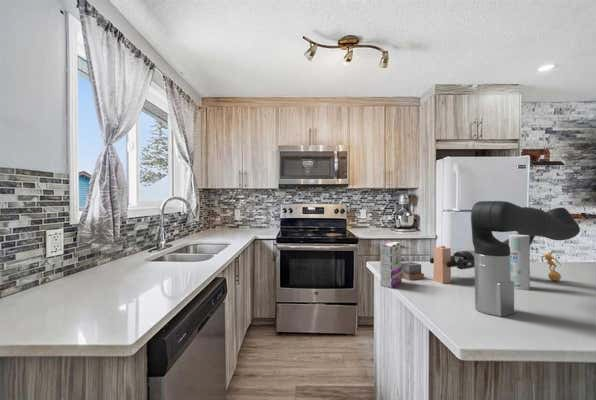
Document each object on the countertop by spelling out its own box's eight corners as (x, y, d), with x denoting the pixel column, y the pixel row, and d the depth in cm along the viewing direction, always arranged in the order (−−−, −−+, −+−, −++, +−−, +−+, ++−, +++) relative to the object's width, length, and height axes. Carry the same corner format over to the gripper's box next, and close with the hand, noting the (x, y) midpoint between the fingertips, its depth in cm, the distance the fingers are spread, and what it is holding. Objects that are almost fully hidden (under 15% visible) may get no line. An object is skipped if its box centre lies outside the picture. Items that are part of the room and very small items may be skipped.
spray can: (534, 289, 114) (534, 236, 114) (517, 290, 114) (516, 236, 114) (521, 285, 121) (521, 234, 121) (505, 285, 121) (504, 234, 121)
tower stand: (424, 278, 132) (423, 264, 132) (409, 280, 129) (409, 266, 129) (410, 274, 140) (410, 261, 140) (396, 276, 137) (396, 262, 137)
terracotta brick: (450, 282, 125) (450, 246, 126) (442, 283, 124) (442, 246, 124) (442, 279, 130) (441, 244, 130) (433, 280, 128) (433, 245, 128)
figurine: (568, 283, 123) (568, 253, 123) (555, 284, 122) (554, 253, 122) (549, 278, 131) (549, 250, 131) (536, 278, 130) (536, 250, 130)
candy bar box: (390, 280, 129) (389, 241, 129) (401, 282, 126) (401, 242, 126) (379, 286, 120) (379, 244, 120) (392, 288, 117) (391, 245, 117)
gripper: (453, 248, 139) (425, 250, 133) (482, 253, 125) (453, 256, 119) (453, 265, 139) (425, 268, 133) (482, 271, 125) (453, 275, 119)
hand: (438, 262), depth 126 cm, fingers open, 8 cm apart
